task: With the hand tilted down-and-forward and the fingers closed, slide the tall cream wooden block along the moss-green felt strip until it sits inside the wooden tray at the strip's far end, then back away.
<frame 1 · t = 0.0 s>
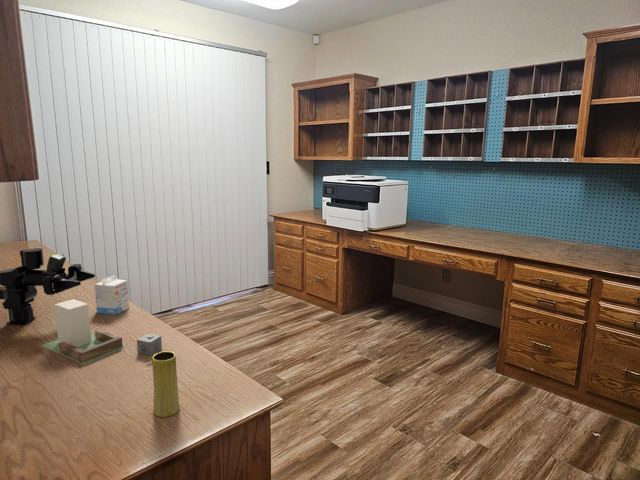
hand: (87, 279, 152), 17 cm above the table, tool horizontal, fingers open, 9 cm apart
cream block: (74, 342, 138), resting on putting strip
ink box: (113, 311, 168), on the table
putting strip: (84, 347, 136), on the table
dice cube: (150, 353, 134), on the table
wooden tray: (90, 348, 134), resting on putting strip
vase: (166, 410, 105), on the table
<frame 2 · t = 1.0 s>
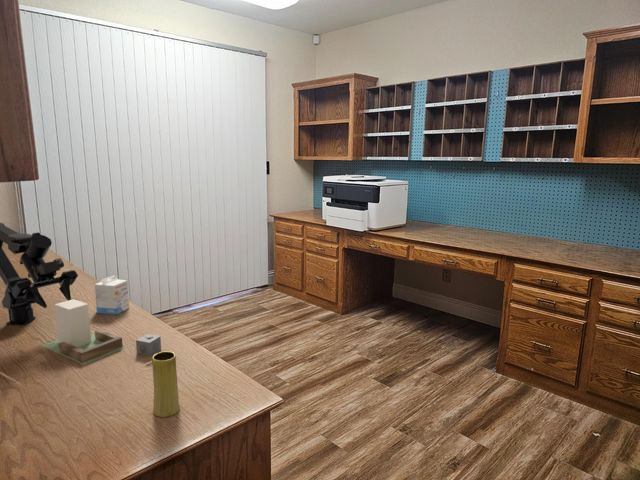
hand: (58, 303, 140), 12 cm above the table, tool tilted 45°, fingers open, 7 cm apart
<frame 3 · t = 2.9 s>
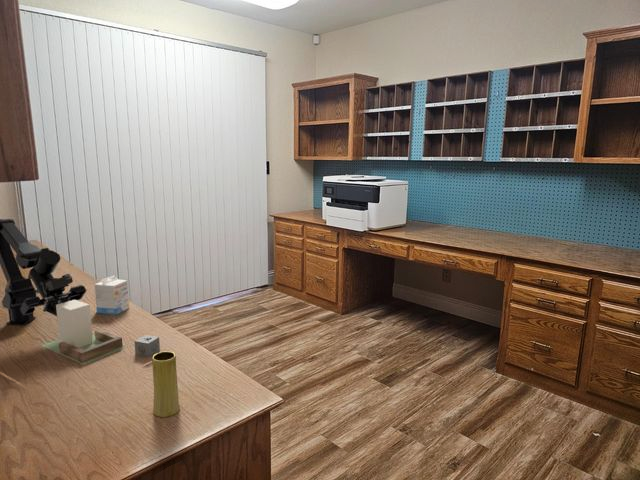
hand: (66, 320, 139), 7 cm above the table, tool tilted 45°, fingers closed, pressing on cream block
cream block: (76, 343, 138), point 1 cm above the table, touching gripper
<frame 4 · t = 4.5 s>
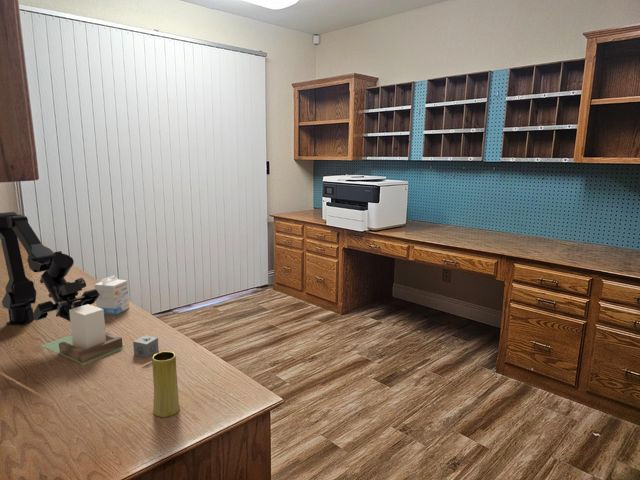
hand: (80, 325, 135), 7 cm above the table, tool tilted 45°, fingers closed
cream block: (89, 348, 134), resting on putting strip
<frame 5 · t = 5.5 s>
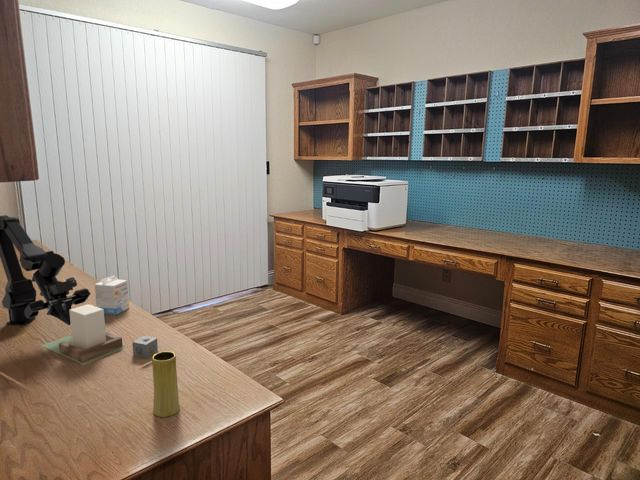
hand: (70, 324, 138), 6 cm above the table, tool tilted 45°, fingers closed
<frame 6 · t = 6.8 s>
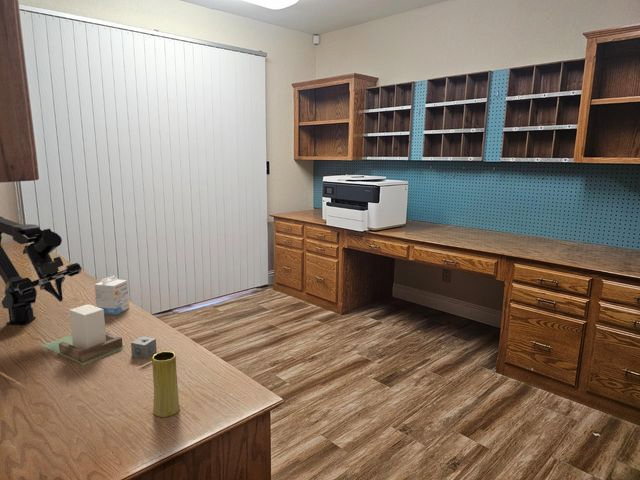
hand: (61, 301, 144), 12 cm above the table, tool tilted 30°, fingers closed
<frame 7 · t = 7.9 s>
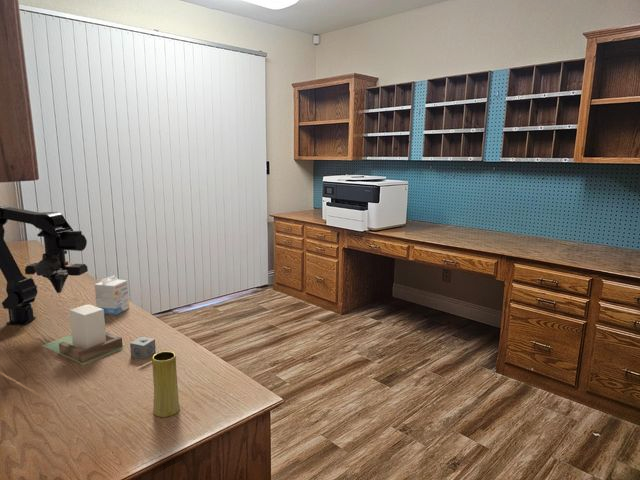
hand: (59, 292, 151), 12 cm above the table, tool pointing down, fingers closed
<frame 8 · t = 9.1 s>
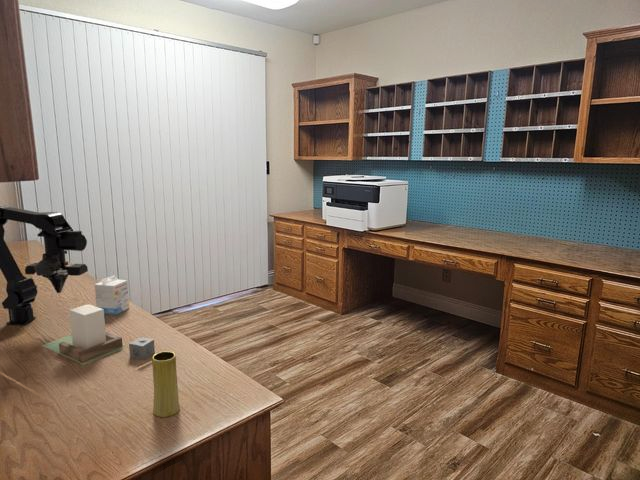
hand: (59, 292, 151), 12 cm above the table, tool pointing down, fingers closed
at the end: cream block 0.1 cm from the wooden tray (horizontally); cream block tilted 0°; cream block point 0.5 cm above the table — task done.
